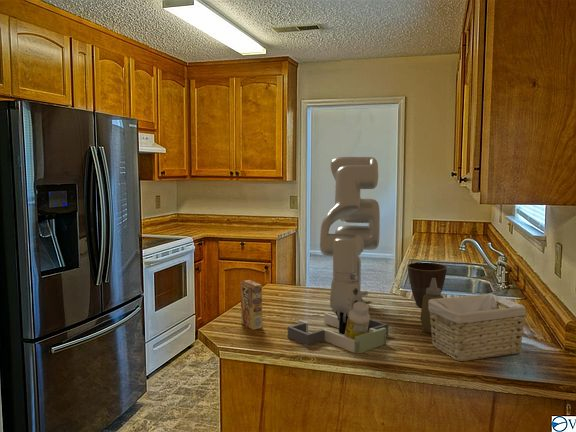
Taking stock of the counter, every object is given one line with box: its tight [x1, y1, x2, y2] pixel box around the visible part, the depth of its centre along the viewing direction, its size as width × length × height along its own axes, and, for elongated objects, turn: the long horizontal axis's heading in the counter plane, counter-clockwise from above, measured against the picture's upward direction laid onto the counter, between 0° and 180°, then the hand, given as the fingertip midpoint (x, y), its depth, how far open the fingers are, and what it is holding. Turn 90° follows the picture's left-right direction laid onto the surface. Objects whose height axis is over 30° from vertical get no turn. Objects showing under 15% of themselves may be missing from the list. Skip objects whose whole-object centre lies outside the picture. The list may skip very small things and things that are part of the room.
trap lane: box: [287, 312, 389, 355], centre depth 159 cm, size 27×27×5 cm
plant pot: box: [407, 262, 448, 309], centre depth 193 cm, size 15×15×16 cm
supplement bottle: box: [343, 302, 371, 340], centre depth 151 cm, size 7×7×13 cm
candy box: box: [239, 279, 264, 330], centre depth 170 cm, size 9×4×15 cm, turn 33°
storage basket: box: [428, 293, 526, 362], centre depth 147 cm, size 24×16×15 cm
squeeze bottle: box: [419, 278, 444, 334], centre depth 164 cm, size 8×8×18 cm
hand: (344, 333), depth 156 cm, fingers closed
